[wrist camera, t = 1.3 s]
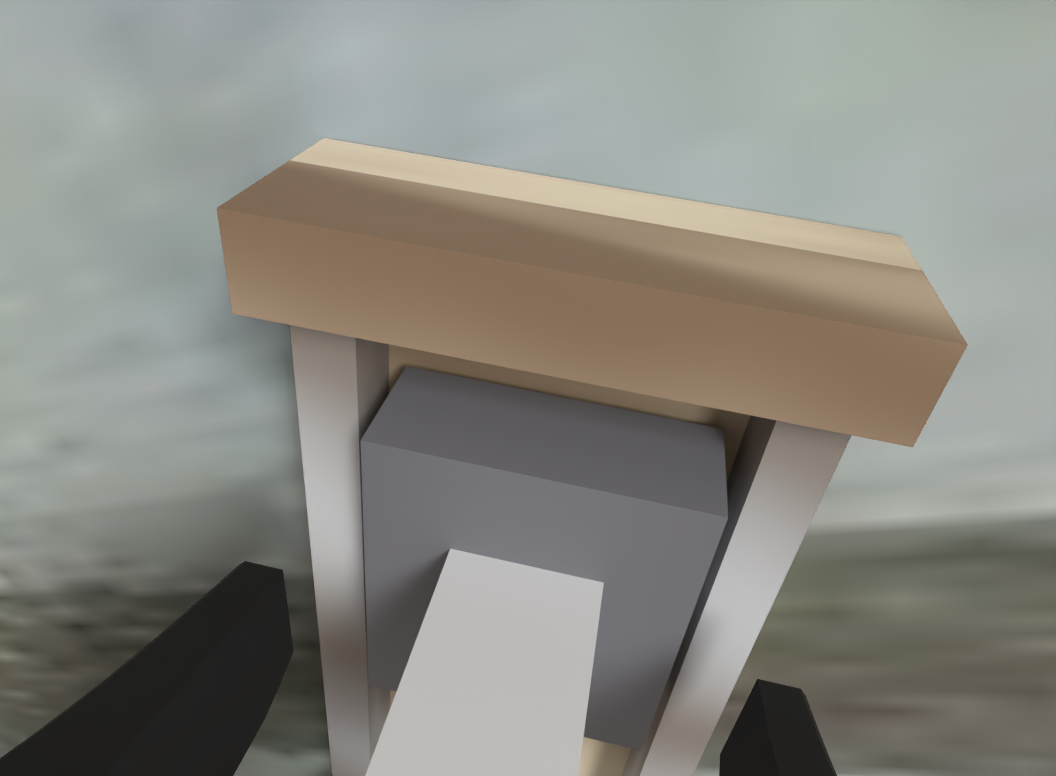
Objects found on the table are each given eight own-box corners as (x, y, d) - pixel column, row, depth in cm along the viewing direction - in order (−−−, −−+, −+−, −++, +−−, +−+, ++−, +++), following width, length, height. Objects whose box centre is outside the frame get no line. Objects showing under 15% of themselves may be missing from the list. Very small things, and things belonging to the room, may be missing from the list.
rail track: (621, 885, 24) (612, 1006, 21) (361, 818, 25) (321, 926, 22) (901, 236, 11) (967, 344, 8) (324, 138, 12) (217, 207, 9)
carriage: (647, 657, 15) (617, 1129, 9) (403, 601, 15) (231, 1016, 10) (723, 429, 11) (751, 957, 6) (406, 366, 12) (141, 795, 6)
